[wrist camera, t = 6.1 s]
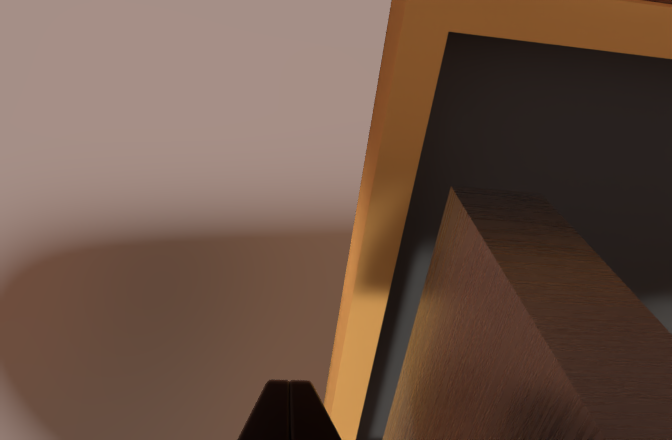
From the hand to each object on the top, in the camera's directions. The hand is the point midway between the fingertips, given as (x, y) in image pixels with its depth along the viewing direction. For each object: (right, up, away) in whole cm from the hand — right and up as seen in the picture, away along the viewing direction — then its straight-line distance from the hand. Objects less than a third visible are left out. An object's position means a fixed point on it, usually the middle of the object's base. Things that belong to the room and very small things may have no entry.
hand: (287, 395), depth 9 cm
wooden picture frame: (+7, +1, +4) cm, 8 cm away
